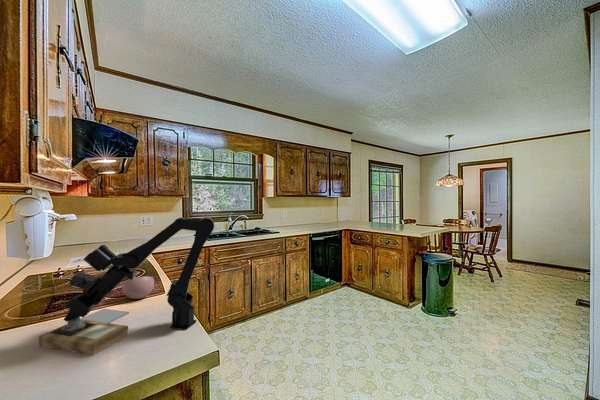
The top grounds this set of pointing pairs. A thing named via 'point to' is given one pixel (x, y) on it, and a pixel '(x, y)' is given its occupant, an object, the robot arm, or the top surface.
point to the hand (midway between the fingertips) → (68, 317)
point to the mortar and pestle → (138, 287)
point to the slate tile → (105, 315)
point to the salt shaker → (73, 326)
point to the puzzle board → (85, 337)
